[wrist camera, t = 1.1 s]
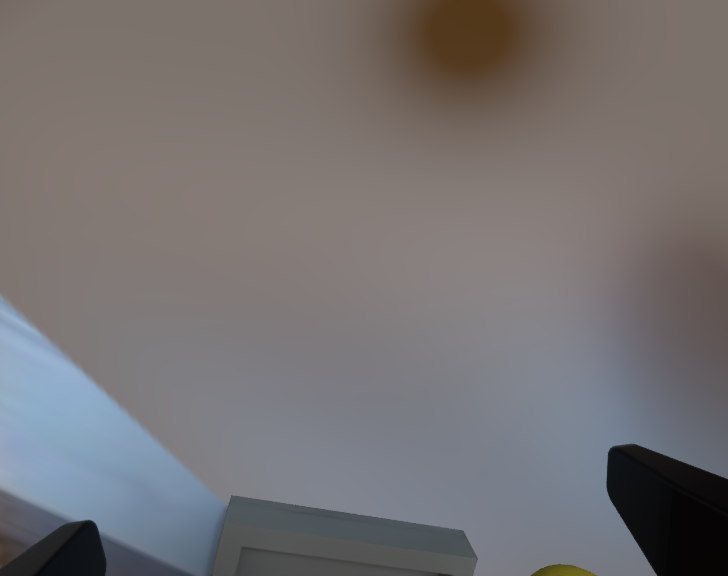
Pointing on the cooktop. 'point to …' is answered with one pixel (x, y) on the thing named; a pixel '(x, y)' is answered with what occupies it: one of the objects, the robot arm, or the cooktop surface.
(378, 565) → the dish
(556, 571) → the lemon
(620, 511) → the robot arm
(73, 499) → the cooktop surface
